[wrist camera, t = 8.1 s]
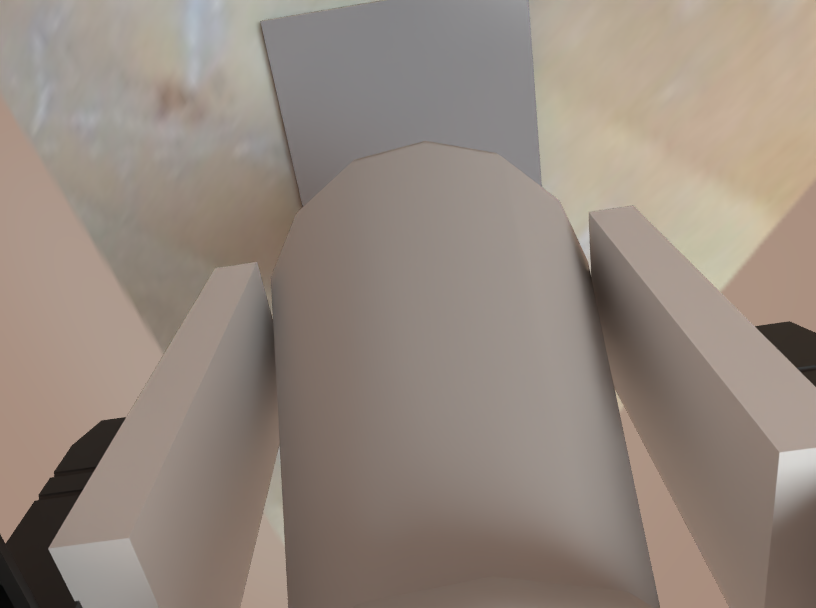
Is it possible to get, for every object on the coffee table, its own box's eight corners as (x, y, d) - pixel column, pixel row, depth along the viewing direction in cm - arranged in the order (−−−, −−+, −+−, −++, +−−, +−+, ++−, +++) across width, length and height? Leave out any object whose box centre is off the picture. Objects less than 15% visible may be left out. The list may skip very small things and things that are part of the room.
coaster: (263, 20, 24) (260, 21, 23) (523, -24, 24) (526, -24, 23) (317, 259, 28) (316, 265, 27) (541, 226, 27) (544, 231, 27)
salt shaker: (337, 391, 17) (201, 1406, 5) (250, 162, 14) (-428, 1083, 2) (580, 332, 16) (1085, 1323, 4) (533, 82, 14) (1402, 793, 2)
